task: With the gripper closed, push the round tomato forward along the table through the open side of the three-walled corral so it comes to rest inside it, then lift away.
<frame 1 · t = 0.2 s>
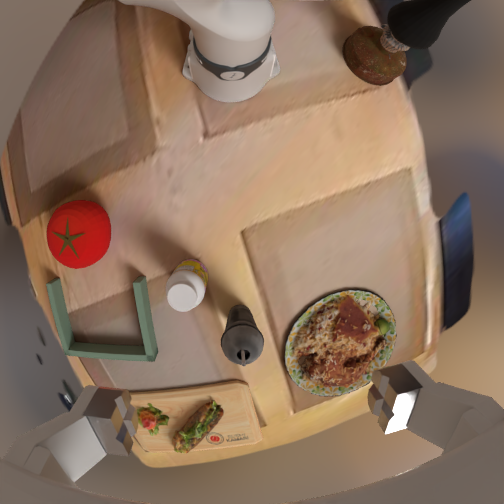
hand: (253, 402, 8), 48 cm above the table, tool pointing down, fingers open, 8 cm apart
supplement bottle: (191, 274, 56), on the table
oil lamp: (370, 58, 49), on the table
corral: (102, 312, 57), on the table
beverage cup: (239, 314, 59), on the table
cutting board: (189, 419, 65), on the table
tomato: (90, 230, 53), on the table
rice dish: (341, 344, 63), on the table
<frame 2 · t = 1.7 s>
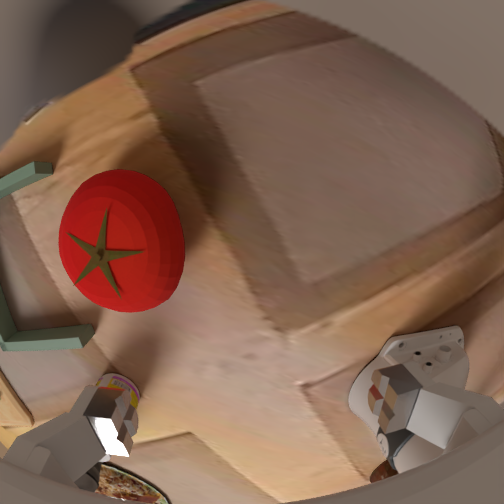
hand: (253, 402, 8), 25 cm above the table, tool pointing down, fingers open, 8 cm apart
supplement bottle: (120, 388, 36), on the table
oil lamp: (396, 466, 46), on the table
corral: (27, 262, 31), on the table
beverage cup: (98, 428, 38), on the table
tomato: (136, 233, 32), on the table
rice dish: (111, 488, 43), on the table
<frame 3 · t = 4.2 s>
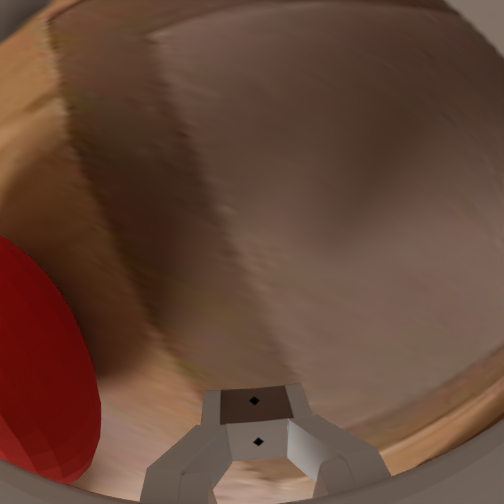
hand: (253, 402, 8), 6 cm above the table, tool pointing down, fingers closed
tomato: (35, 329, 14), on the table
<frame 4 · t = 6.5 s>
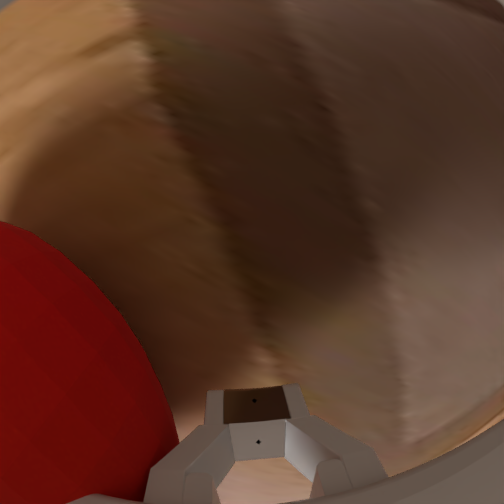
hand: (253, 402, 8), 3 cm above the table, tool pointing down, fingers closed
tomato: (65, 356, 11), on the table, touching gripper
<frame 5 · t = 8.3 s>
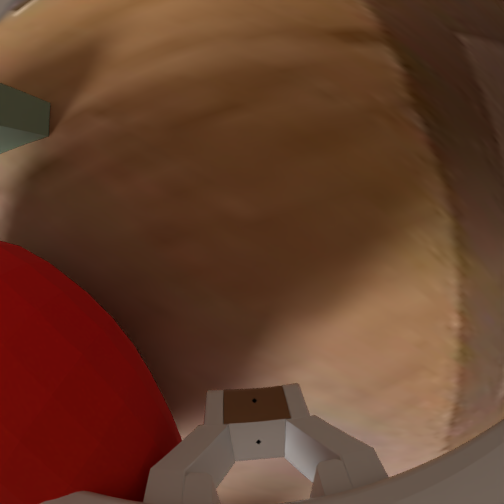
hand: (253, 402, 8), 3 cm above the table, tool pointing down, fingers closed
tomato: (69, 366, 11), on the table, touching gripper
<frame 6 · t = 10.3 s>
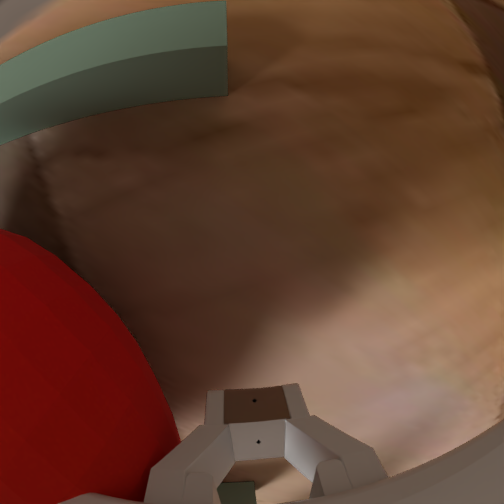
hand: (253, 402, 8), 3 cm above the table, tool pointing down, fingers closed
corral: (71, 354, 11), on the table
tomato: (67, 360, 11), on the table, touching gripper
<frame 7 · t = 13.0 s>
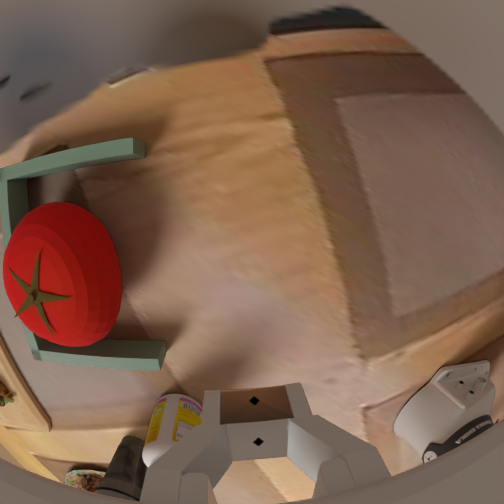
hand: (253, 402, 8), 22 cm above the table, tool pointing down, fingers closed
supplement bottle: (180, 408, 34), on the table
corral: (86, 258, 28), on the table
beverage cup: (135, 444, 35), on the table
tomato: (83, 262, 29), on the table
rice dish: (125, 498, 40), on the table
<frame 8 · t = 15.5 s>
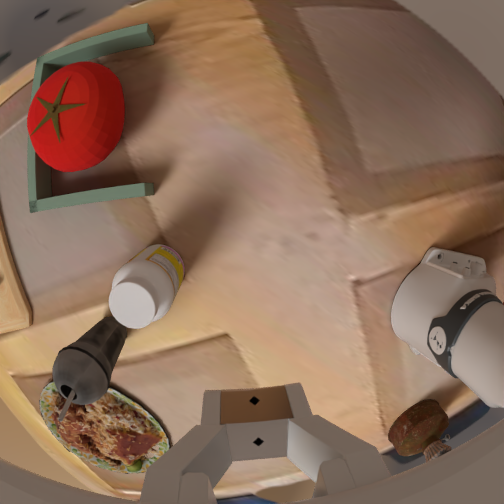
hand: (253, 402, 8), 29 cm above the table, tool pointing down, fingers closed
supplement bottle: (161, 267, 37), on the table
oil lamp: (414, 421, 48), on the table
corral: (96, 118, 32), on the table
beverage cup: (113, 329, 38), on the table
tomato: (93, 123, 32), on the table
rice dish: (103, 428, 43), on the table
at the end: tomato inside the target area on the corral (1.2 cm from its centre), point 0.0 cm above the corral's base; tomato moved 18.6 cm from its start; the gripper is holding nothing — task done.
